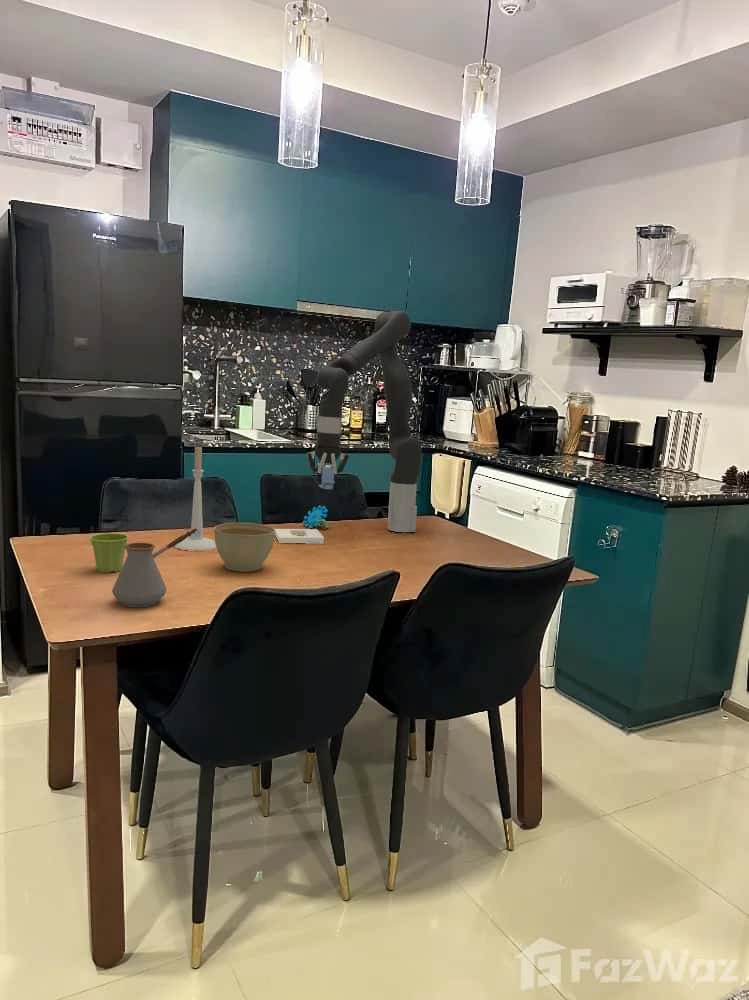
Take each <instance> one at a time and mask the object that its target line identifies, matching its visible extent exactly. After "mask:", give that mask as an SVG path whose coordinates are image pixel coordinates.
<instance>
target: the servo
mask: <svg viewBox="0 0 749 1000" xmlns="http://www.w3.org/2000/svg"><path fill="white" fill-rule="evenodd" d="M321 474H322V477H321V485H318V487H319V488H321V489H323V490H333V489H334V486H333V483H334V468H332V467H331V465H330V464H324V465H323V467H322V471H321Z"/></svg>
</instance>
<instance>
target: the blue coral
mask: <svg viewBox="0 0 749 1000" xmlns="http://www.w3.org/2000/svg"><path fill="white" fill-rule="evenodd" d="M328 512H329V510H328V509H327V507H326V506H325V505H323V506H322V505H318V506H317V507H316V506H314V507H313V508H312V511H311V510H308V512H307V515H308V516H307V515H305V516H304V517H303V519H304V520H303V521H302V524H303V525H304V524H305V525H306V526H308V525H309V527H312V528H314V527H315V528H317V527H318V526H321V525H322V526H323V527H324V528H325V529H326V528H329V526H328V525H327V520H326V518H327V517H328ZM322 526H321V527H322ZM309 527H308V528H309Z"/></svg>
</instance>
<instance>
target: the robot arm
mask: <svg viewBox="0 0 749 1000" xmlns="http://www.w3.org/2000/svg"><path fill="white" fill-rule="evenodd" d="M411 327H412V322H411V318H410V316H409V314H408V313H406V312H405V311H402V310H392V311H387V312H386V311H385V312H381V313H379V314H378V315H377V316H376V318H375V321H374V331H375V332H374V333H373V334H372V335H370V336H368V337H366V338H364V339H363V340H360V341H359V342H357V343H356V344H355V345H353V346H352V347H351V348H349V349H348V350H347V351H346V352H345V353H343V355H342V356H340V357H338V358H336V359H334V360H332V361H331V362H329V363H328V364H326V365H324V366H323V367H322V368H321V369H320V370H319V371H318V373H317V375H316V383H317V385H318V386H319V388H320V389H322V390H326V391H328V394H327V397H323V398H321V399H320V402H319V413H318V422H317V431H316V432H317V433H316V447H315V449H314V451H310V452H306V458H307V461H308V465H309V468H310V471H313V472H315V474H316V475H315V476H316V477H315V483H316V484H317V485H318V486H319V485H321V477H322V474H321V471H322V467H323V466H325V464H329V465H331V467H332V468H334V483H333V487H334V485H336V483H337V475H338V473H339V474H340V473H342V472H343V471H344V469H345V466H346V465H347V462H348V460H349V457H350V456H349V455H348V454H345V453H342V451H341V441H342V440H341V439H342V431H343V430H342V413H343V412H342V411H343V410H342V409H343V404H344V400H345V397H346V394H347V392H348V388H349V382H350V379H349V377H350V376H354V375H356V374H357V373H358V372H359V371H360V370H361V369H363V368H364V366H366V365H367V364H368V363H370V361H371V360H373V359H374V358H376V356H377V355H379V357H380V363H381V364H380V365H381V370H382V371H381V372H382V378H383V389H384V390H383V391H384V398H385V405H386V413H387V420H388V448H389V449H388V451H389V454H390V456H391V458H392V459H393V460H395V466H394V471H393V472H392V473H391V475H390V483H389V496H388V497H389V499H388V513H387V514H388V515H387V528H388V529H389V530H392V531H396V532H412V531H413V532H414V531H415V532H416V528H417V527H416V526H417V511H418V506H417V505H416V502H417V501H416V498H417V483H418V478H419V476H420V471H421V462H422V446H421V443H420V442H419V441H418V439H416V438H414V437H412V436H411V433H410V424H409V418H410V417H409V416H410V412H411V407H412V401H413V392H412V383H411V376H410V374H409V372H408V370H407V368H406V367H405V365H404V364H403V361H402V360H401V358H400V356H399V353H398V349H397V342H399V341H401V339H403V338H405V337H406V336H408V334H409V332H410V330H411ZM315 456H316V457H317V459H318V462H317V466H316V465H315V461H314V459H315ZM339 457H340V460H341V461H339V462H340V463H339V465H338V467H337V462H336V461H337V460H338V459H339Z"/></svg>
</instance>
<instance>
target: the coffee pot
mask: <svg viewBox="0 0 749 1000" xmlns="http://www.w3.org/2000/svg"><path fill="white" fill-rule="evenodd" d="M196 531H198V530H197V529H196V528H195V529H193V530H191V529H190V531H187V532H186V533H185V534H182V535H179V536H178V537H177V538H175V539H174V540H173V541H171V542H170V543H168V544H167V545H165V546H164V547H162V548H161V549H159V550H157V551H155V552H154V553H153V551H154V549H155V548H156V546H155V544H153V543H149V542H132V543H126V545H125V551H126V553H127V556H126V558H125V560H124V561H123V566H122V569H121V570H120V571H119V575H118V576H117V577H116V578H117V579H116V580H115V582H114V585H113V588H112V589H111V592H112V595H113V597H114V598H115V600H117V601H118V602H120V603H121V605H123V606H125V607H131V608H144V607H145V608H146V607H151V606H154V605H156V604H157V603H158V601H160V600H162V598H163V597H164V596H165V595H166V592H167V587H166V584H165V581H164V579H163V577H162V574H161V572H160V570H159V568H158V566H157V563H156V561H155V558H156V557H158V556H160V555H161V554H163V553H165V551H168V550H169V549H171V548H173V547H174V546H175V545H177V544H178V543H180V542H182V541H183V540H184V539H186V538H188V537H190V536H191V534H192V533H195V532H196ZM198 532H199V531H198ZM199 534H200V532H199ZM195 535H196V536H198V535H197V534H196V533H195ZM199 536H200V535H199Z"/></svg>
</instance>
